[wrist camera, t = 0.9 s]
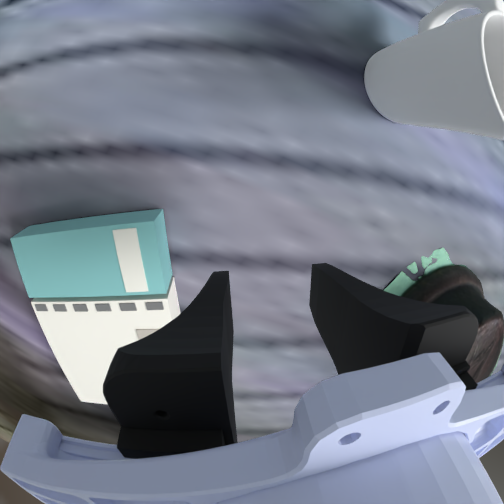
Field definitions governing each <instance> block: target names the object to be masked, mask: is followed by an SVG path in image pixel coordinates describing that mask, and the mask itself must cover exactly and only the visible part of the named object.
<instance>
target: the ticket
mask: <svg viewBox="0 0 504 504" xmlns="http://www.w3.org/2000/svg"><path fill="white" fill-rule="evenodd" d="M31 304H32V306H33V309H34V311H35V314H36V316H37V318H38V321H39V323H40V325H41V327H42V330H43V332H44V334H45V336H46V338H47V340H48V343H49V345H50V347H51V349H52V351H53V353H54V355H55V357H56V359H57V360H58V362H59V364H60V366H61V368H62V370H63V372H64V373H65V375H66V377H67V379H68V380H69V382H70V384H71V386H72V387H73V389H74V391H75V392H76V394H77V396H78V397H79V399H80V400H81V401H82V402H90V403H99V404H107V402H106V400H105V397H104V395H103V383H104V380H105V378H106V375H107V372H108V369H109V366H110V364H111V361H112V359H113V357H114V355H115V353H116V351H117V349H118V348H120V347H123V346H125V345H128V344H130V343H133V342H135V341H138V340H140V339H142V338H144V337H146V336H148V335H150V334H152V333H154V332H155V331H157V330H159V329H160V328H162V327H163V326H165V325H166V324H168V323H169V322H170V321H172V320H173V319H175V318H176V317H177V316H178V315H180V314H181V313H180V308H179V303H178V298H177V292H176V286H175V281H174V277H171V280H170V283H169V287H168V290H167V294H149V295H126V296H97V297H48V298H34V299H33V300H32V301H31Z"/></svg>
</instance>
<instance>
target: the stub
mask: <svg viewBox="0 0 504 504" xmlns="http://www.w3.org/2000/svg"><path fill="white" fill-rule="evenodd" d="M10 240H11V243H12V247H13V251H14V254H15V257H16V261H17V264H18V267H19V270H20V273H21V276H22V279H23V282H24V285H25V288H26V290H27V293H28V296H29V298H48V297H97V296H126V295H149V294H167V290H168V287H169V283H170V280H171V277H172V268H171V262H170V255H169V249H168V242H167V235H166V228H165V221H164V213H163V209H155V210H145V211H135V212H126V213H118V214H109V215H101V216H93V217H86V218H78V219H71V220H64V221H57V222H50V223H44V224H38V225H31V226H28V227H27V228H25V229H24V230H22V231H21V232H19V233H18V234H16V235H15V236H13V237H12V238H10Z"/></svg>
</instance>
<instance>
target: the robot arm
mask: <svg viewBox="0 0 504 504" xmlns="http://www.w3.org/2000/svg"><path fill="white" fill-rule="evenodd" d="M309 305H310V309H311V312H312V315H313V318H314V322H315V324H316V326H317V328H318V330H319V333H320V335H321V337H322V339H323V341H324V343H325V345H326V347H327V349H328V351H329V353H330V355H331V357H332V359H333V361H334V364H335V366H336V369H337V372H338V375H337V376H334V377H331V378H328V379H326V380H323V381H321V382H319V383H318V384H317V385H315V386H314V387H313V388H311V389H310V390H308V391H307V392H306V393H304V394H303V395H302V397H301V399H300V401H299V403H298V404H297V406H296V408H295V411H294V419H293V424H292V427H291V428H289V429H286V430H283V431H279V432H276V433H273V434H269V435H266V436H262V437H259V438H255V439H251V440H247V441H243V442H239V443H237V433H236V423H235V412H234V400H233V388H232V356H233V319H232V307H231V295H230V283H229V271H219V272H213V273H212V274H211V276H210V278H209V279H208V281H207V283H206V284H205V286H204V287H203V289H202V290H201V291H200V293H199V294H198V295H197V297H196V298H195V299H194V300H193V301H192V302H191V304H190V305H189V306H188V307H187V308H186V309H185V310H184V311H183V312H182V313H181V314H180V315H178V316H177V317H176V318H175V319H173V320H172V321H170V322H169V323H168V324H166V325H165V326H163V327H162V328H160V329H159V330H157V331H155V332H154V333H152V334H150V335H148V336H146V337H144V338H142V339H140V340H138V341H135V342H133V343H130V344H128V345H125V346H123V347H120V348H118V349H117V351H116V353H115V355H114V357H113V359H112V361H111V364H110V366H109V369H108V372H107V375H106V378H105V380H104V383H103V395H104V397H105V400H106V402H107V404H108V405H109V407H110V409H111V410H112V412H113V414H114V415H115V417H116V419H117V420H118V422H119V423H120V425H121V430H120V434H119V439H118V444H117V445H113V444H106V443H99V442H93V441H87V440H81V439H76V438H71V437H67V436H62V434H61V432H60V431H59V429H58V428H57V427H56V426H55V425H54V424H53V423H51V422H49V421H47V420H45V419H41V418H37V417H33V416H29V415H26V414H22V416H21V418H20V420H19V423H18V425H17V427H16V429H15V432H14V434H13V436H12V439H11V441H10V444H9V446H8V448H7V451H6V454H5V456H4V459H3V462H2V464H1V467H0V468H1V471H2V472H3V473H4V474H6V475H7V476H8V477H9V478H10V479H12V480H13V481H14V482H15V483H17V484H18V485H19V486H21V487H22V488H23V489H25V490H26V491H27V492H29V493H30V494H31V495H33V496H34V497H36V498H37V499H39V500H40V501H41V502H43V503H45V504H503V502H502V500H501V498H500V496H499V495H498V493H497V491H496V489H495V487H494V485H493V483H492V481H491V480H490V478H489V476H488V474H487V472H486V470H485V469H484V467H483V465H482V463H481V462H480V460H479V458H480V457H481V456H482V455H484V454H485V453H486V452H488V451H489V450H490V449H492V448H493V447H494V446H496V445H497V444H498V443H499V442H501V441H502V440H503V439H504V364H503V366H502V369H501V370H500V371H499V372H497V373H495V374H493V375H492V376H490V377H488V378H486V379H484V380H482V381H480V382H478V383H476V382H475V381H474V379H473V378H472V377H471V376H470V374H469V373H468V372H467V371H469V369H470V365H469V364H468V363H467V361H466V358H467V356H468V354H469V352H470V350H471V348H472V346H473V344H474V341H475V339H476V336H477V333H478V319H477V318H476V316H475V315H474V314H473V313H472V312H471V311H469V310H468V309H467V308H466V307H465V306H457V305H441V304H434V303H427V302H422V301H417V300H413V299H409V298H405V297H401V296H398V295H395V294H392V293H389V292H386V291H383V290H381V289H378V288H376V287H374V286H371V285H369V284H367V283H365V282H363V281H361V280H359V279H357V278H355V277H353V276H351V275H349V274H347V273H345V272H343V271H342V270H340V269H338V268H336V267H334V266H332V265H329V264H327V263H321V264H312V274H311V290H310V304H309Z"/></svg>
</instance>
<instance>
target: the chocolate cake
mask: <svg viewBox="0 0 504 504" xmlns="http://www.w3.org/2000/svg"><path fill="white" fill-rule="evenodd" d="M431 256H432V257H431ZM431 256H430V257H429V258H426V257H423V256H422V258H421V261H422V266H423V268H424V269H425V268H426V267H427V266H428V267H427V269H425V274H424V275H423V276H421V277H418V278H419V280H417V281H414V280H411V279H410V278H409V277H408V276H406V275H405V273H404V272H401V273H400V274H399V275H398V276H397V277H396V278H395V279H394V281H393V282H392V283H390V284H389V285H388V287H386V288H385V289H384V290H383V291H386V292H389V293H392V294H395V295H398V296H401V297H405V298H409V299H413V300H417V301H422V302H427V303H434V304H441V305H457V306H465V307H466V308H467V309H468V310H469V311H471V312H472V313H473V314H474V315H475V316H476V318H477V319H478V333H477V336H476V339H475V341H474V344H473V346H472V348H471V350H470V352H469V354H468V356H467V358H466V361H467V363H468V364H469V365H470V369H469V371H467V372H468V373H469V374H470V376H471V377H472V378H473V379H474V381H475V382H476V383H478V382H480V381H482V380H484V379H486V378H488V377H490V376H491V374H492V373H493V371H494V369H495V368H496V366H497V363H498V360H499V357H500V354H501V350H502V346H503V342H504V319H503V315H502V312H501V311H499V310H498V309H496V308H495V307H494V306H492V305H491V304H490V303H489V302H488V301H487V300H486V299H484V295H483V289H482V285H481V282H480V280H479V279H478V278H477V276H476V275H475V274H474V273H473V272H472V271H471V270H470V269H468V268H467V267H466V266H464V265H454V264H452V262H451V261H450V259H449V255H448V253H447V252H446V251H445V249H444V248H441V249H437V250H435V251H434V252H433V254H432V255H431ZM432 258H436V259H437V262H436V263H433V264H431V265H430V266H429V264H430V263H432ZM447 259H448V260H447ZM407 268H408V269H409V270H411V272H412V273H414V274H415V273H417V271H418V269H417V265H416V263H415V262H413V263H412V264H411V265H409V266H408V267H407Z"/></svg>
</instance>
